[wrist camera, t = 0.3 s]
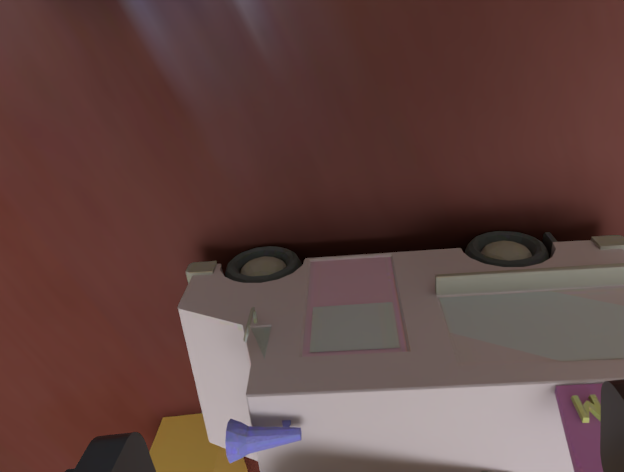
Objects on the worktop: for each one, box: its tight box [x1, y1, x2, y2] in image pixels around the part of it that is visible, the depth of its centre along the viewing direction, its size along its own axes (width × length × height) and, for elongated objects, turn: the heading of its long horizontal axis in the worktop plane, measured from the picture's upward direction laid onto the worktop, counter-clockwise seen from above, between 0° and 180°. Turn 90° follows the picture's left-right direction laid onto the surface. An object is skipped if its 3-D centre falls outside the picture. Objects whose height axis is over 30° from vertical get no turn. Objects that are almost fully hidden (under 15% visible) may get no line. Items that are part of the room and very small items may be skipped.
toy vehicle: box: [178, 231, 624, 472], centre depth 22 cm, size 9×20×15 cm, turn 95°
